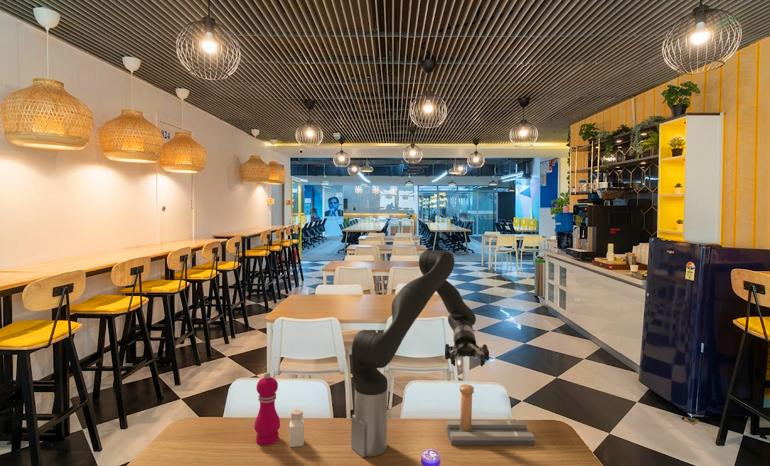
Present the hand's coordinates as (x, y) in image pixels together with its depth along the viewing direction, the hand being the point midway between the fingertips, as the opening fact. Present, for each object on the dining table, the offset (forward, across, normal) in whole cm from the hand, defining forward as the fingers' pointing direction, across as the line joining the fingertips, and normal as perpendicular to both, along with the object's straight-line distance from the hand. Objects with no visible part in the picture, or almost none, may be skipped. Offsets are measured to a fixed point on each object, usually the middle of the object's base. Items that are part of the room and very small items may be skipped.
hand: (468, 363), depth 136 cm
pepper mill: (+21, -59, +14) cm, 64 cm away
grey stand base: (+11, +5, +18) cm, 22 cm away
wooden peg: (+12, -2, +16) cm, 20 cm away
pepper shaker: (+22, -50, +14) cm, 56 cm away
